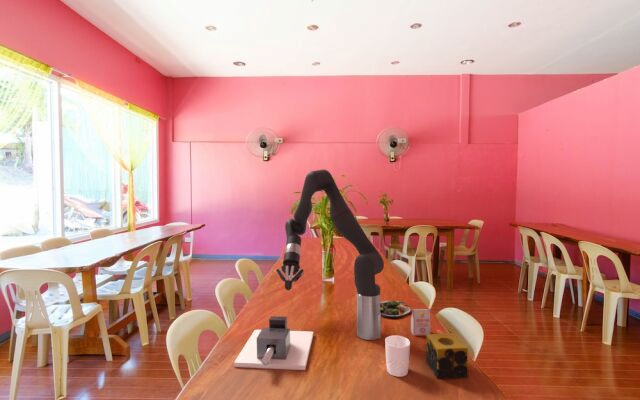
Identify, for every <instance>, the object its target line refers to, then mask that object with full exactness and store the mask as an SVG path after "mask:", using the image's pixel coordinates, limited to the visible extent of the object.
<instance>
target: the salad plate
mask: <svg viewBox="0 0 640 400" xmlns="http://www.w3.org/2000/svg"><path fill="white" fill-rule="evenodd" d="M405 303H406V302H405V301H399V300H397V301H396V300H384V301H380V314H381V318H384V319H385V318H386V319H390V320H392V319H399V318H402V317H404V316H407V315H408V314H409V313H411V312H412V309H411V308H410V307H409V306H406V305H404V304H405ZM401 311H403V313H401Z"/></svg>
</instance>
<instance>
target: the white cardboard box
mask: <svg viewBox="0 0 640 400" xmlns="http://www.w3.org/2000/svg"><path fill="white" fill-rule="evenodd" d="M431 321H432V320H431V313H430V309H429V308H426V309H425V308H421V309H420V308H415V309H414V308H413V309H411V316H410V333H411V334H412V336H414V337H415V336H416V337H417V336H420V337H421V336H425V337H426V335H427V334H431V326H432V325H431V323H432V322H431Z"/></svg>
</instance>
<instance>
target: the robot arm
mask: <svg viewBox="0 0 640 400" xmlns="http://www.w3.org/2000/svg"><path fill="white" fill-rule="evenodd" d="M301 190H302V191H301V194H300V199H299V202H298V205H297V207H296V209H295V212H294V213H293V218H288V219H287V220H286V222H285V224H284V228H285V229H284V230H285V235H286V243H285V248H284V253H283V261H282V265H281V266H280V268H277V269H276V275H278V276H279V277H278V278H280V280H281V281H282V282H284V289H285V290H286V291H291V290H292V288H293V283H296V282H297V281H298V280H299V279H300V278H302V277H303V275H304V274H305V271H304V269H303V268H301V267H300V261H301V255H302V253H301V247H302V237H301V236H303V235H304V234H305V233H306V232H307V222H308V220H309V217H310V215H311V213H312V210H313V202H312V198H313V195H315V193H317V192H325V194H326V196H327V198H328V200H329V216H330V221H331V222H332V223H333V225H334V228H335V229H336V231H337V232H338V233H339V234H340V235H341V236H342V237H343V238H344V239H345V240H347V241H348V243H351V244H352V245H353V247H355V249H356V250H357V252H358V254H359V255H358V256H356V258H355V260H354V263H353V272H354V285H355V288H356V336H357V337H358V338H360V339H363V340H366V341H374V340H377V339H382V332H381V331H382V325H381V324H382V317H381V314H380V302H381V286H380V285H379V284H377V283H376V275H377V274H380V273H382V271H383V270H384V268H385V267H384V266H385V263H384V258H383V256H382V255H381V254H380V252H379V251H378V249H377V248H376V247H375V245H373V243H372V242H371V240H370V238H369V237H368V236H367V235H366V233H365V231H364V230H363V228H362V227H361V224H360V223H359V222H358V220H357V218H356V216H355V214H354V213H353V212H352V210H351V208H350V207H349V205H348V203H347V202H346V200H345V199H344V197H343V195H342V194H341V192H340V189H339V188H338V185H337V182H336V181H335V179H334V177H333V175H332V174H331V173H330V171H329V170H327V169H316V170H312V171H311V170H310V171H309V172H307V174H306V176H305V179H304V182H303V187H302V189H301ZM283 274H284V275H285V276H284V275H283Z"/></svg>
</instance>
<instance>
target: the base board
mask: <svg viewBox="0 0 640 400" xmlns="http://www.w3.org/2000/svg"><path fill="white" fill-rule="evenodd" d="M261 330H262V329H254V331H253V332H252V334H251V335H250V337H248V339H247V342H246V343H245V345H244V346H243V348H242V349H241V351H240V353H239V354H238V356H237V357H236V358H235V360H234V363H233V367H234V368H251V369H252V368H253V369H254V368H255V369H275V370H293V371H295V370H296V371H297V370H299V371H306V368H307V364H308V359H309V356H310V351H311V347H312V343H313V339H314V331H308V330H307V331H304V330H302V331H301V330H290V350H289V352H288V355H287V358H286V360H280V359H270V362H269V364H268V365H264V364H263V363H262V359H257V337H258V335H259V333H260V332H261Z"/></svg>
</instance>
